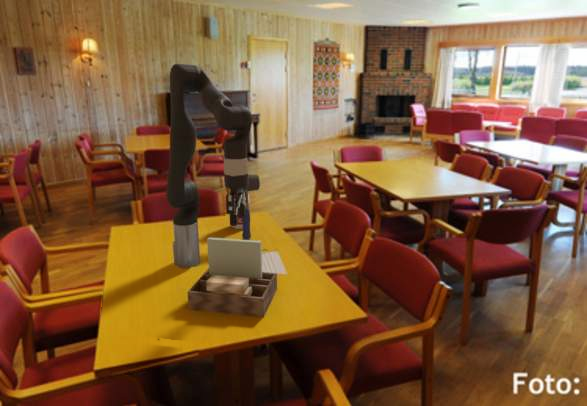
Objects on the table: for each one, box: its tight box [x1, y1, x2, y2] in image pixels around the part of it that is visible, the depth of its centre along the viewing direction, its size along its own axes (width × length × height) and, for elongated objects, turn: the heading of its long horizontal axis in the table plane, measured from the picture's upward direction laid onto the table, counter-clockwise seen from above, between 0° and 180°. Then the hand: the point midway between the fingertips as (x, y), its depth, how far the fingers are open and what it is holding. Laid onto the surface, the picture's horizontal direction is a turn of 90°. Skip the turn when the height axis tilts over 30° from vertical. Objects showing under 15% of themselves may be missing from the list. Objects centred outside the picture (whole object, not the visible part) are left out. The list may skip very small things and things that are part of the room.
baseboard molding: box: [262, 248, 288, 275], centre depth 167 cm, size 31×3×12 cm
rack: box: [187, 267, 278, 318], centre depth 141 cm, size 24×18×8 cm
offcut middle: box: [210, 287, 252, 296], centre depth 136 cm, size 12×5×3 cm, turn 79°
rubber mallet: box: [241, 174, 261, 240], centre depth 194 cm, size 12×8×30 cm, turn 105°
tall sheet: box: [206, 237, 263, 279], centre depth 145 cm, size 18×2×18 cm, turn 79°
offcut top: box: [206, 275, 249, 294], centre depth 135 cm, size 12×5×3 cm, turn 79°
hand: (237, 221), depth 141 cm, fingers open, 8 cm apart
